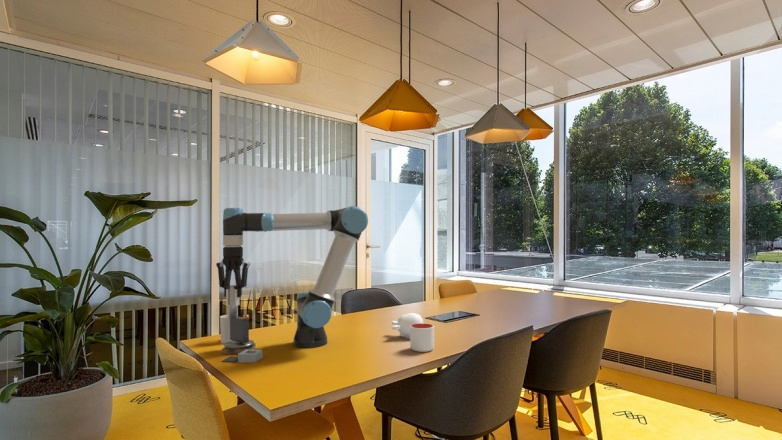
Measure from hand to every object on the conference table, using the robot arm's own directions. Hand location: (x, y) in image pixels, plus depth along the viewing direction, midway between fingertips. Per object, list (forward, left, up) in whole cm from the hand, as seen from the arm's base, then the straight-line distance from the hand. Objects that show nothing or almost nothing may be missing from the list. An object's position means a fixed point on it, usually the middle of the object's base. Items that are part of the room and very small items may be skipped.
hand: (232, 305), depth 173 cm
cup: (-74, -22, -22) cm, 80 cm away
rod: (0, 0, -5) cm, 5 cm away
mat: (0, 0, -22) cm, 22 cm away
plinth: (+4, -13, -22) cm, 26 cm away
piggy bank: (-65, -43, -22) cm, 81 cm away
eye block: (-7, -1, -22) cm, 23 cm away
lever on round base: (+4, -13, -20) cm, 24 cm away
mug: (+17, -27, -22) cm, 39 cm away
